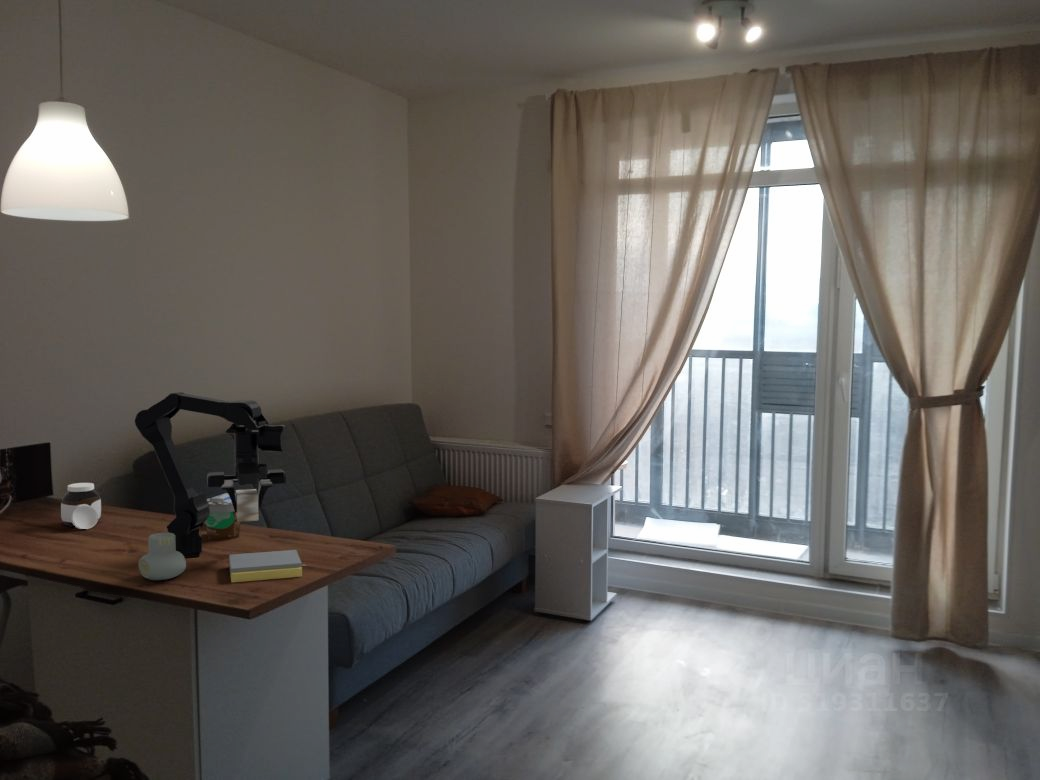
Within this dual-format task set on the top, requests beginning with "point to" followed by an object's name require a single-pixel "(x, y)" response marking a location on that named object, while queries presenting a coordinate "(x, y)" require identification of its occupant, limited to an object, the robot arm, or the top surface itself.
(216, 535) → the food container
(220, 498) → the medicine box
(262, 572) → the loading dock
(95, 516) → the spread jar
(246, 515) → the white milk carton
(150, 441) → the robot arm
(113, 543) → the top surface
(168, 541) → the air freshener
